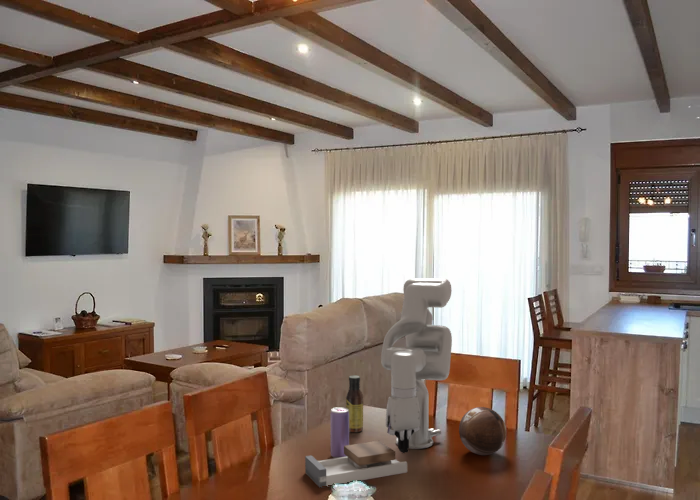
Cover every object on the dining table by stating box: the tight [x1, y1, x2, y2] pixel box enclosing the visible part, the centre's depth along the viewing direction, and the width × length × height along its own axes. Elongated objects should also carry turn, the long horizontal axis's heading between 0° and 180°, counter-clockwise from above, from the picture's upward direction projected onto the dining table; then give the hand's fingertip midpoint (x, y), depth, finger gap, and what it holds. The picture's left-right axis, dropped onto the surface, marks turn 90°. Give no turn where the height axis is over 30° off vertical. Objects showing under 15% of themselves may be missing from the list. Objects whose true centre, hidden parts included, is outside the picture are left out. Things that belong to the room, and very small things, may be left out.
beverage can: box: [330, 406, 350, 459], centre depth 202 cm, size 6×6×15 cm
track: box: [304, 455, 408, 488], centre depth 187 cm, size 28×12×5 cm, turn 114°
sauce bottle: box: [345, 375, 364, 433], centre depth 228 cm, size 6×6×20 cm
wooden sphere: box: [458, 406, 507, 456], centre depth 203 cm, size 15×15×15 cm
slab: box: [344, 440, 396, 469], centre depth 189 cm, size 12×11×5 cm
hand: (403, 451), depth 194 cm, fingers closed
